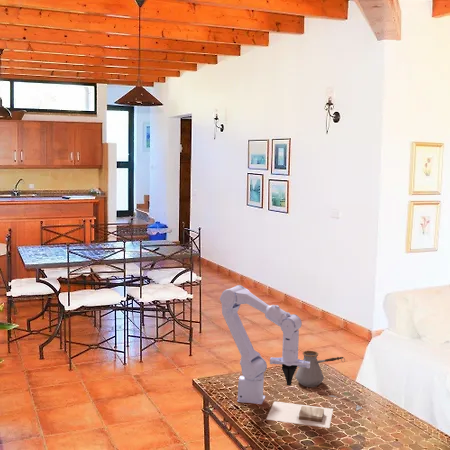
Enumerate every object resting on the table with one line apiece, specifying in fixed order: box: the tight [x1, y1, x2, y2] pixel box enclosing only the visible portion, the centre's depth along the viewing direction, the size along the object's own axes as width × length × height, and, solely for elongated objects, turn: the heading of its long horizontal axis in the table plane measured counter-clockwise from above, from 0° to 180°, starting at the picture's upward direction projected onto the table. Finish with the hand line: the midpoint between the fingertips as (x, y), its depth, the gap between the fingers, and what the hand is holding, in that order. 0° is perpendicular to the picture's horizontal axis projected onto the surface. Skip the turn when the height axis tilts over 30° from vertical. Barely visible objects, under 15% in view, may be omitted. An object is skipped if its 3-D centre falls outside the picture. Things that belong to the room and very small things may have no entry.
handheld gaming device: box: [328, 394, 363, 412], centre depth 223 cm, size 9×1×15 cm
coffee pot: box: [295, 350, 346, 388], centre depth 239 cm, size 21×12×15 cm, turn 48°
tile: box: [299, 406, 324, 422], centre depth 211 cm, size 2×7×8 cm
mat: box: [265, 400, 334, 429], centre depth 213 cm, size 22×16×1 cm
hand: (289, 384), depth 217 cm, fingers closed
